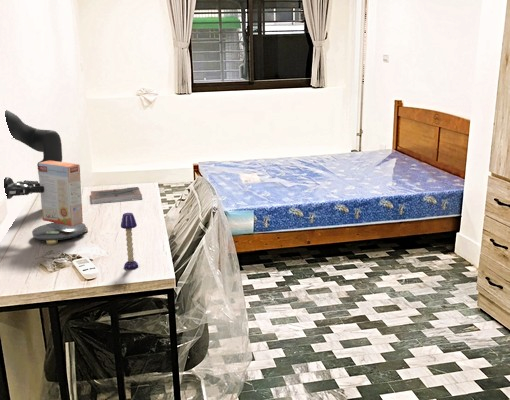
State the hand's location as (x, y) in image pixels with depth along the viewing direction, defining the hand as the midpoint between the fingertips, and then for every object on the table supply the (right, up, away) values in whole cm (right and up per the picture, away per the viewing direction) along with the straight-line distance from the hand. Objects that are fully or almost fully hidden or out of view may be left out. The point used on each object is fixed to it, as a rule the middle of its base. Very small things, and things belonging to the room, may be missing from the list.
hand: (46, 187), depth 190 cm
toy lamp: (+36, -25, -25) cm, 50 cm away
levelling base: (+3, -17, +5) cm, 18 cm away
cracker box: (+5, -12, +1) cm, 13 cm away
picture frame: (+10, -4, +58) cm, 59 cm away
